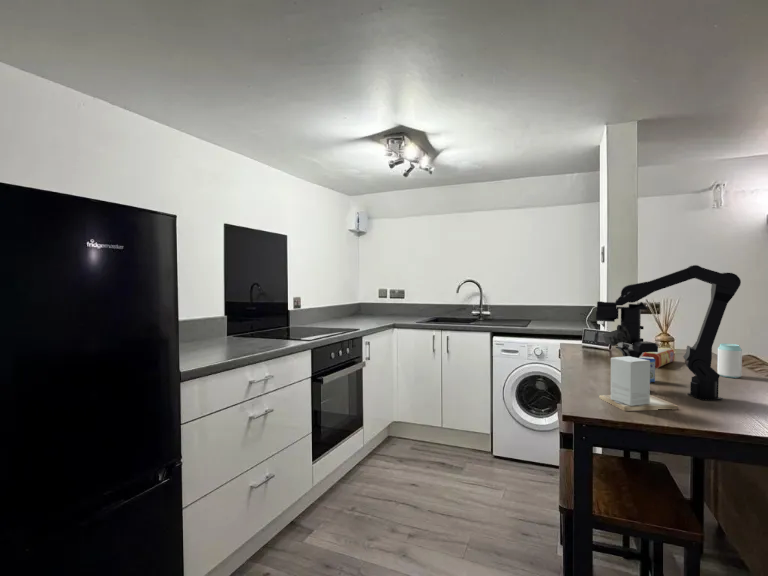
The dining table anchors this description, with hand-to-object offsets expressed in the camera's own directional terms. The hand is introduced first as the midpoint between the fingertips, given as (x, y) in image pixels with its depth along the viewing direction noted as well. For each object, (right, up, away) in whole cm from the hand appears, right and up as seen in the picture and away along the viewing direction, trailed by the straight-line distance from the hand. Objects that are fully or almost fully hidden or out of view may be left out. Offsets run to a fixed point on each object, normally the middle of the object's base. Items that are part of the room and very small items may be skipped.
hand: (630, 369), depth 140 cm
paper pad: (-7, -7, -15) cm, 18 cm away
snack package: (+36, -6, +40) cm, 54 cm away
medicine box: (+11, -7, +12) cm, 18 cm away
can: (+48, -6, +18) cm, 51 cm away
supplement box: (-10, -6, -17) cm, 21 cm away
